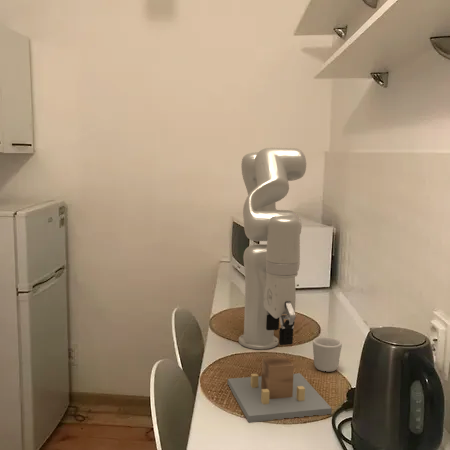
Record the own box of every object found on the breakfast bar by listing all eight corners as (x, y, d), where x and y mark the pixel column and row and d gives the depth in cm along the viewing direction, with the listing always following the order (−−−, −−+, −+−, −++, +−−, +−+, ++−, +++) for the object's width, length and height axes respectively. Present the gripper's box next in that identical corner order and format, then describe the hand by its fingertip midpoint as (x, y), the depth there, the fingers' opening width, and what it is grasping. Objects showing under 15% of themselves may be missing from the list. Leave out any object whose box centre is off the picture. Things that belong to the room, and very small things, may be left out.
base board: (227, 384, 138) (228, 367, 137) (299, 378, 143) (300, 362, 142) (248, 422, 119) (249, 403, 118) (331, 414, 123) (332, 396, 123)
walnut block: (261, 388, 133) (262, 357, 132) (283, 386, 134) (285, 356, 133) (268, 399, 127) (270, 367, 126) (292, 397, 128) (293, 365, 127)
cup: (325, 358, 158) (326, 332, 157) (349, 365, 153) (351, 338, 152) (306, 368, 149) (307, 341, 148) (331, 376, 144) (333, 348, 143)
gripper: (256, 260, 134) (253, 325, 136) (278, 277, 117) (275, 351, 120) (284, 259, 135) (281, 324, 138) (310, 276, 119) (306, 349, 122)
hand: (278, 336), depth 129 cm, fingers open, 9 cm apart
